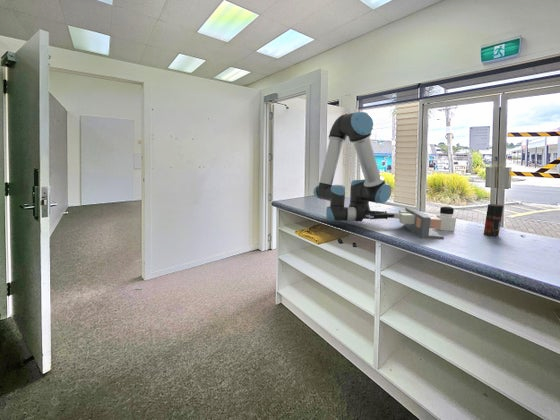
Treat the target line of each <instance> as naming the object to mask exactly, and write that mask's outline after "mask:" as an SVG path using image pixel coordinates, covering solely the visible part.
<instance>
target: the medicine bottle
mask: <svg viewBox="0 0 560 420" xmlns="http://www.w3.org/2000/svg"><path fill="white" fill-rule="evenodd" d="M439 210H440V211H439V214H436V217H437V218H439V219H442V220H441V228H440V229H438V230H439V231H444V232H445V231H446V232H455V228H456V223H457V222H456V221H457V217H455V216H454V212H455V211H454V210H455V209H454V207H452V206H445V205H444V206H440V209H439Z"/></svg>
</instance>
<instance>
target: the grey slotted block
mask: <svg viewBox="0 0 560 420" xmlns="http://www.w3.org/2000/svg"><path fill="white" fill-rule="evenodd" d="M404 209H405V211H410V214H415V215H416V217H415V224H403V226H404V227H406V228H407V229H408V230H409V231H411V232H413V234H415V235H417V236H418V237H420V238H421V239H439V240H442V239H445V236H443V235H442V234H440V233H439V232H437V231H435V229H434V230H433V229H432V228H429V227H430V219H431V218H430V217H431V216H428V215H426V214H424V213H422V212H420V210H419V211H418V210H416V209H414V208H412V207H405V208H404ZM417 217H421V218H422V224H421V228H419V227H417V226H416V222H417Z"/></svg>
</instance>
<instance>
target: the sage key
mask: <svg viewBox="0 0 560 420" xmlns="http://www.w3.org/2000/svg"><path fill="white" fill-rule="evenodd" d="M398 213H409V214H410V211H405V210H402V209H401V210H399V209H398ZM397 219H398V220H399V219H400V218H397Z"/></svg>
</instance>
